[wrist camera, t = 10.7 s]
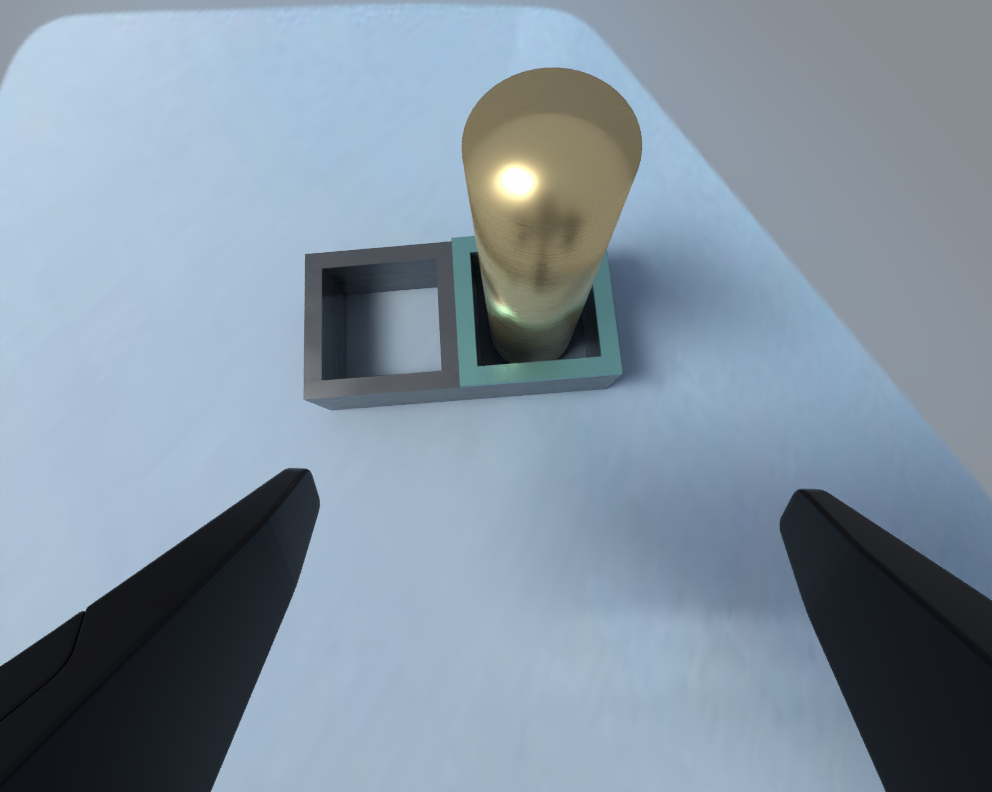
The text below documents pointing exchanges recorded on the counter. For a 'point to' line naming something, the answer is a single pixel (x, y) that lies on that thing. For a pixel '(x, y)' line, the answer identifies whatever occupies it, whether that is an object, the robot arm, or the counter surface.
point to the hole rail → (459, 331)
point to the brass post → (545, 200)
